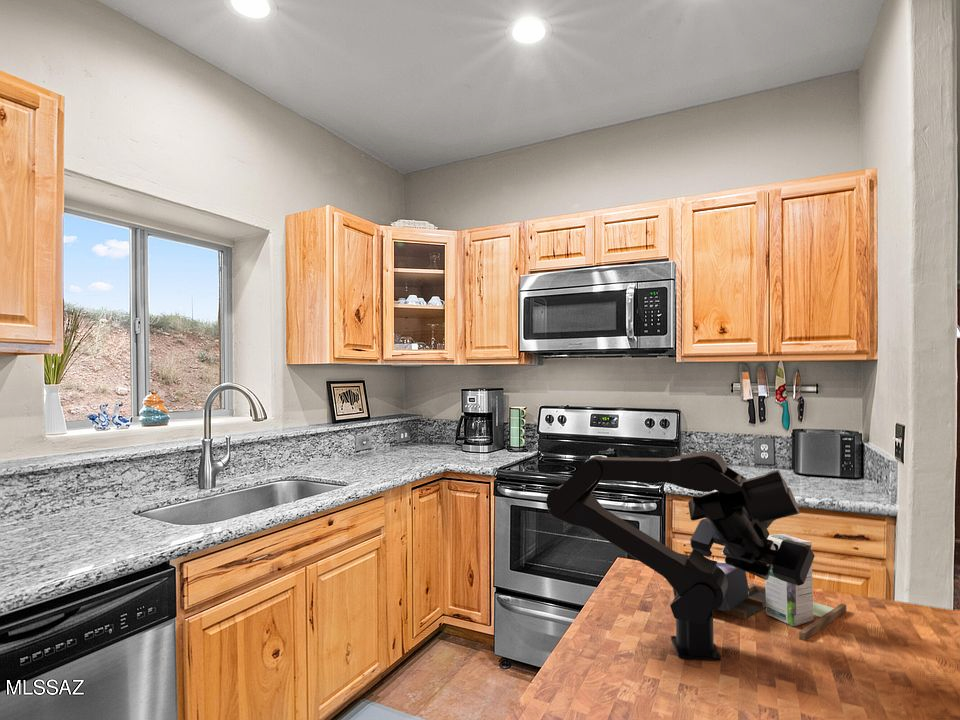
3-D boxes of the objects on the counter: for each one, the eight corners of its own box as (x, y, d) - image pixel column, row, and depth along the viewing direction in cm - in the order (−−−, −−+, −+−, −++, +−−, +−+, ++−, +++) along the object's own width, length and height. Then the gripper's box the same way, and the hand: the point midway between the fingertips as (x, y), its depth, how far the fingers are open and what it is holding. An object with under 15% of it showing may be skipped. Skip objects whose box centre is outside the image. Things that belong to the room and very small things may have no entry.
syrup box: (764, 614, 101) (762, 536, 102) (786, 608, 104) (784, 532, 104) (792, 627, 96) (790, 544, 97) (815, 621, 99) (812, 540, 99)
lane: (804, 640, 91) (804, 633, 92) (714, 608, 104) (714, 602, 104) (846, 611, 102) (846, 604, 102) (760, 585, 115) (759, 579, 115)
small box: (693, 558, 114) (745, 562, 106) (699, 591, 113) (751, 597, 105) (669, 570, 106) (723, 575, 99) (675, 605, 105) (729, 613, 98)
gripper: (809, 494, 84) (840, 553, 90) (699, 474, 99) (733, 525, 105) (783, 555, 79) (818, 613, 85) (672, 524, 95) (709, 575, 101)
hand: (766, 576), depth 94 cm, fingers closed
